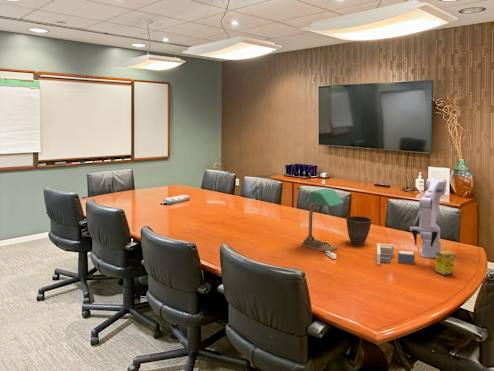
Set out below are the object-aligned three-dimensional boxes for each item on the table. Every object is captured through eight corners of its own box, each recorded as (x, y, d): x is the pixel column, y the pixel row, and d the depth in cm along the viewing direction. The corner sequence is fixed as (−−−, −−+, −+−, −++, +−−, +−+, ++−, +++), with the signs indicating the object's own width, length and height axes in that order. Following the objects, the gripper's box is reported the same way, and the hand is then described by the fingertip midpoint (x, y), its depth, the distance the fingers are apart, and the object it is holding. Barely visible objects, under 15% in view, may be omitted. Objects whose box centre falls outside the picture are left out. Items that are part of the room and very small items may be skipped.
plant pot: (374, 244, 262) (375, 218, 260) (363, 249, 251) (364, 223, 249) (352, 239, 272) (353, 215, 270) (340, 244, 261) (341, 219, 259)
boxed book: (413, 262, 231) (414, 252, 230) (414, 264, 227) (414, 254, 226) (397, 260, 233) (398, 250, 232) (398, 263, 229) (398, 252, 228)
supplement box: (444, 276, 210) (445, 254, 208) (434, 272, 216) (436, 251, 214) (452, 274, 212) (454, 253, 211) (443, 270, 218) (444, 249, 216)
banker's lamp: (313, 241, 267) (315, 186, 262) (342, 249, 253) (345, 190, 247) (298, 247, 256) (299, 189, 250) (327, 255, 242) (329, 194, 236)
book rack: (393, 255, 242) (393, 245, 241) (394, 266, 224) (395, 255, 223) (376, 253, 244) (377, 243, 243) (376, 264, 226) (377, 253, 225)
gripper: (410, 220, 222) (409, 245, 224) (441, 222, 217) (439, 248, 219) (410, 217, 229) (408, 242, 231) (440, 219, 224) (438, 244, 226)
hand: (423, 245), depth 225 cm, fingers open, 7 cm apart
